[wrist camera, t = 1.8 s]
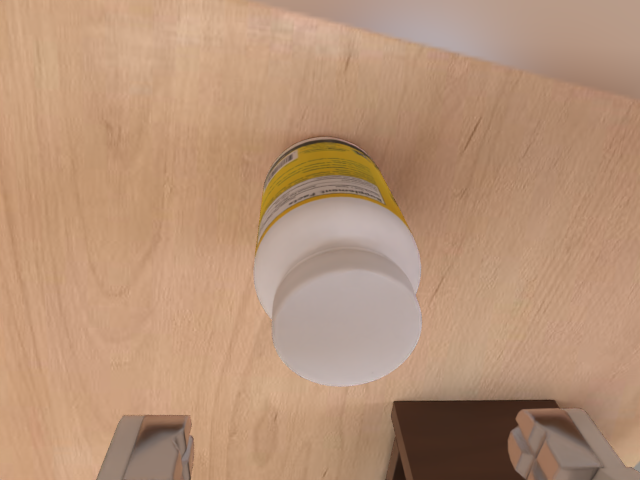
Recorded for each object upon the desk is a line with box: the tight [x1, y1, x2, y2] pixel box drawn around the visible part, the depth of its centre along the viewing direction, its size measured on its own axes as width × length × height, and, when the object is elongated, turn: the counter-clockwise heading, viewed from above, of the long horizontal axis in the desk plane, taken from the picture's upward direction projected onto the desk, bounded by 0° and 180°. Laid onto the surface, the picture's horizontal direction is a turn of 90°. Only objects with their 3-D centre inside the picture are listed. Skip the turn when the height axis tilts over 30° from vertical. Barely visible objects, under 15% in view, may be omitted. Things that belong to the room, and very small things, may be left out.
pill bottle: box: [254, 137, 422, 387], centre depth 18 cm, size 6×6×11 cm
